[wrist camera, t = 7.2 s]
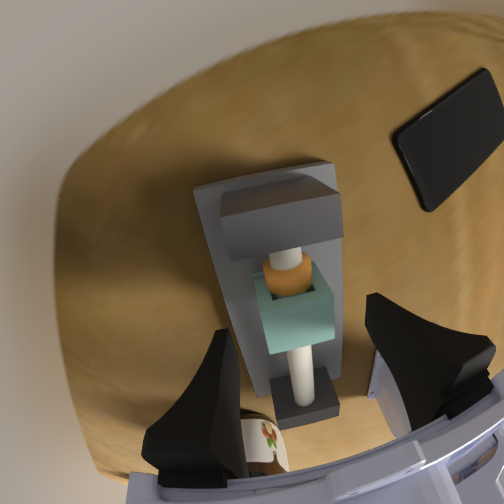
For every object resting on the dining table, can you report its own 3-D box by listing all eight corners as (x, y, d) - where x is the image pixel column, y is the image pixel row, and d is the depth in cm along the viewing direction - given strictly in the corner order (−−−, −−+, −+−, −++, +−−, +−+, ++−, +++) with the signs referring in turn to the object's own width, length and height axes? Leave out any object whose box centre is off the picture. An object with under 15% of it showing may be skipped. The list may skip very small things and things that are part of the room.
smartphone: (391, 136, 14) (488, 66, 11) (385, 136, 15) (481, 66, 12) (428, 217, 17) (512, 132, 14) (422, 213, 18) (506, 131, 15)
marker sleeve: (316, 300, 17) (334, 338, 14) (261, 313, 17) (269, 354, 14) (313, 260, 16) (333, 294, 12) (252, 274, 16) (259, 312, 12)
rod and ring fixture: (337, 368, 24) (355, 413, 19) (256, 387, 24) (262, 435, 19) (326, 160, 15) (370, 176, 10) (195, 186, 15) (180, 214, 10)
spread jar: (289, 430, 29) (305, 508, 18) (215, 450, 30) (218, 520, 20) (241, 390, 24) (252, 500, 13) (156, 415, 25) (146, 504, 15)
